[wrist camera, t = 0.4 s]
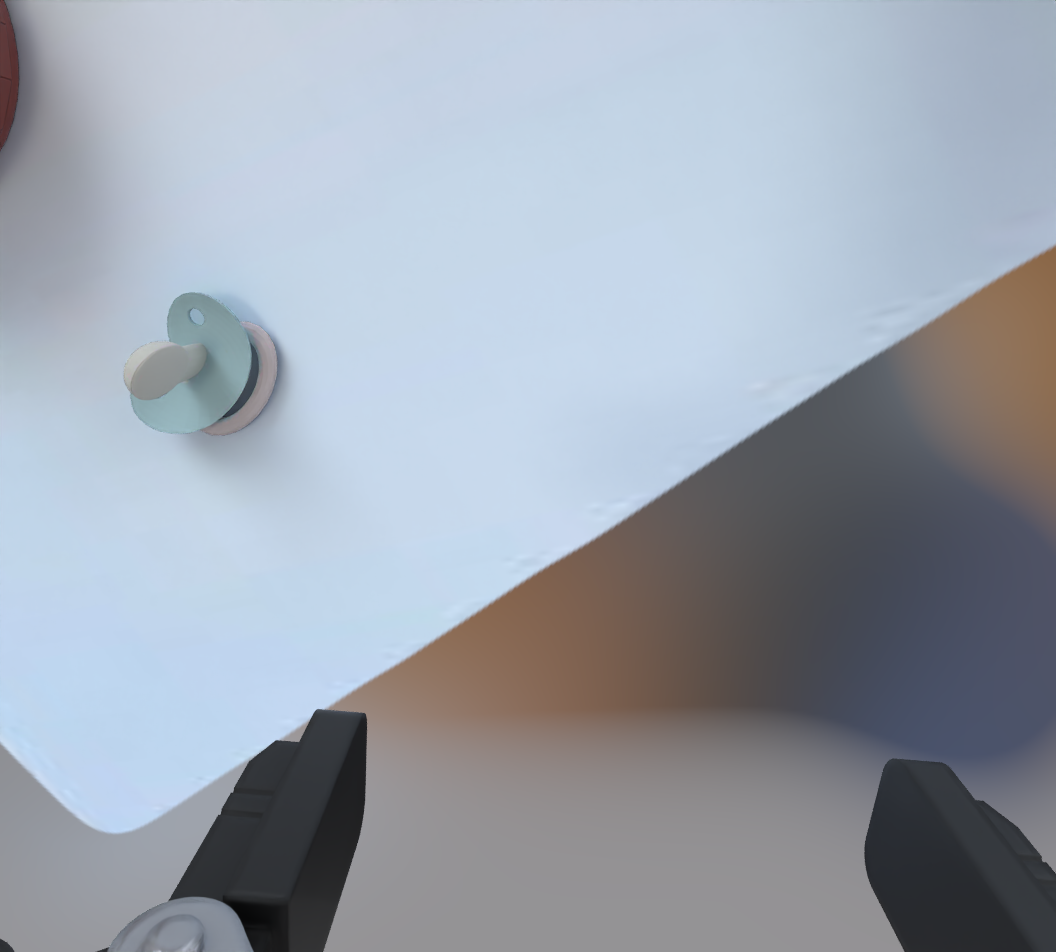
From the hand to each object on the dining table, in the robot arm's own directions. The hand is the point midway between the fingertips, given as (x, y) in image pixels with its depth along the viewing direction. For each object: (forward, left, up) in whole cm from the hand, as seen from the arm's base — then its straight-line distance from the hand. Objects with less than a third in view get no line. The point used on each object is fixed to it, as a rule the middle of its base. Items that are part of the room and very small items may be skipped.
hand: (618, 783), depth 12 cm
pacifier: (-1, -18, -29) cm, 34 cm away
